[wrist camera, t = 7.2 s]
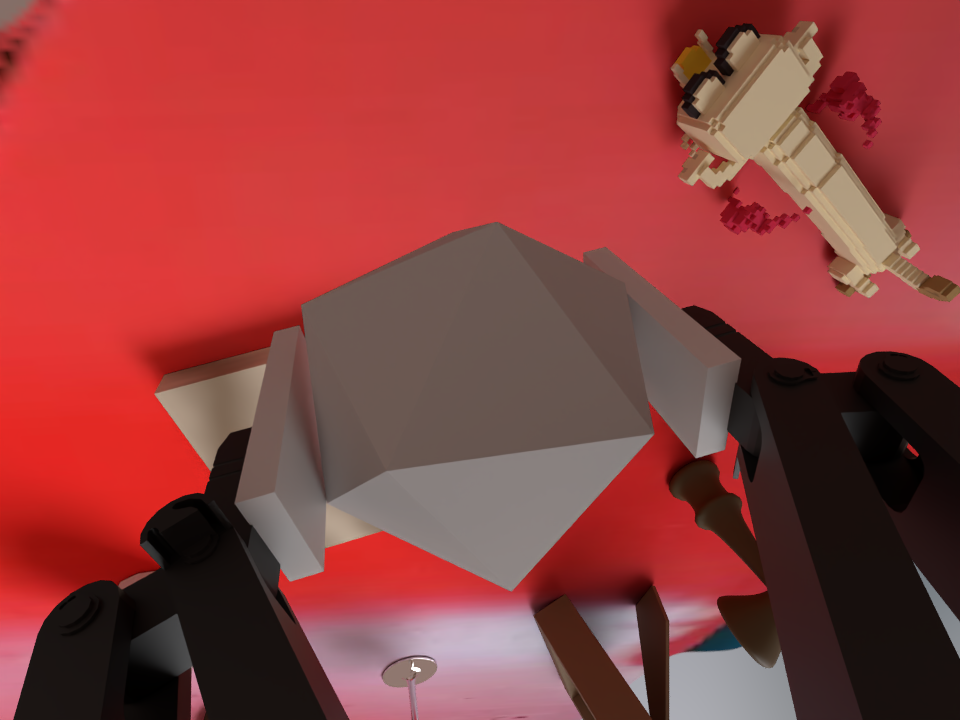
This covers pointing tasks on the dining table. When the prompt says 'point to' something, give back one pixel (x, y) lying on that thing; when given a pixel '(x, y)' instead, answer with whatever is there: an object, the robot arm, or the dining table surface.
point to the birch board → (233, 418)
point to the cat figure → (791, 149)
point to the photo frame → (608, 661)
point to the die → (476, 396)
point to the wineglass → (410, 676)
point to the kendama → (724, 518)
